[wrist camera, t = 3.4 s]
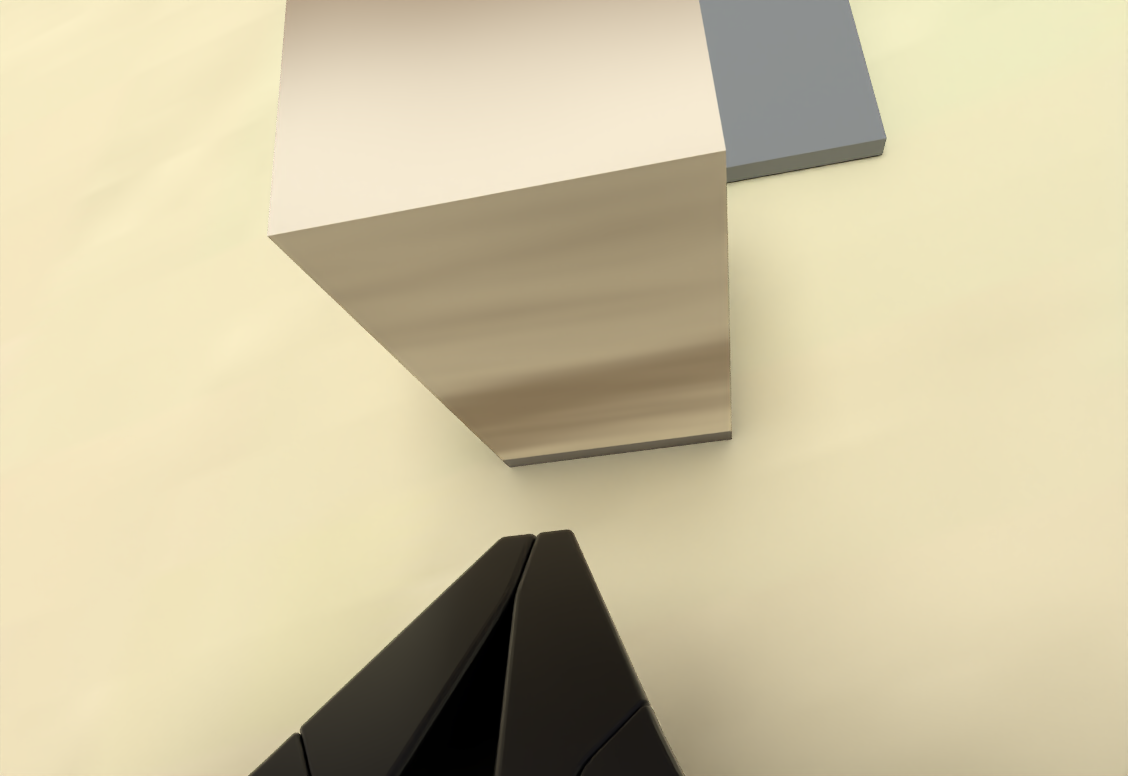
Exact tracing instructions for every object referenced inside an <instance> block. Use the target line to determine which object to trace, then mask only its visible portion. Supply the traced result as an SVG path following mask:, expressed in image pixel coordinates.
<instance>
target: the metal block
mask: <svg viewBox="0 0 1128 776" xmlns="http://www.w3.org/2000/svg"><path fill="white" fill-rule="evenodd" d="M267 236H268V237H269V238H270V239H271V240H272V241H273V242H274V243H275V244H276V245H277V246H278V247H279V248H280V249H281V250H282V251H283V252H285V253H286V254H287V255H288V256H289V257H290V258H291V259H292V260H293V261H294V262H295V263H296V264H297V265H298V266H299V267H300V268H301V269H302V270H303V271H304V272H305V273H307V274H308V275H309V276H310V277H311V278H312V279H313V280H314V281H315V282H316V283H317V284H318V285H319V286H320V287H321V288H322V289H323V290H324V291H325V292H326V293H327V294H329V295H330V296H331V297H332V298H333V299H334V300H335V301H336V302H337V303H338V304H339V305H340V306H341V307H342V308H343V309H344V310H345V311H346V312H347V313H348V314H350V315H351V316H352V317H353V318H354V319H355V320H356V321H357V322H358V323H359V324H360V325H361V326H362V327H363V328H364V329H365V330H366V331H367V332H368V333H369V334H370V335H372V336H373V337H374V338H375V339H376V340H377V341H378V342H379V343H380V344H381V345H382V346H383V347H384V348H385V349H386V350H387V351H388V352H389V353H390V354H391V355H392V356H394V357H395V358H396V359H397V360H398V361H399V362H400V363H401V364H402V365H403V366H404V367H405V368H406V369H407V370H408V371H409V372H410V373H411V374H412V375H413V376H415V377H416V378H417V379H418V380H419V381H420V382H421V383H422V384H423V385H424V386H425V387H426V388H427V389H428V390H429V391H430V392H431V393H432V394H433V395H434V396H435V397H437V398H438V399H439V400H440V401H441V402H442V403H443V404H444V405H445V406H446V407H447V408H448V409H449V410H450V411H451V412H452V413H453V414H454V415H455V416H456V417H457V418H459V419H460V420H461V421H462V422H463V423H464V424H465V425H466V426H467V427H468V428H469V429H470V430H471V431H472V432H473V433H474V434H475V435H476V436H477V437H478V438H480V439H481V440H482V441H483V442H484V443H485V444H486V445H487V446H488V447H489V448H490V449H491V450H492V451H493V452H494V453H495V454H496V455H497V456H498V457H499V458H500V459H502V460H503V461H504V462H505V463H506V464H507V465H508V466H509V467H515V466H523V465H531V464H539V463H547V462H555V461H563V460H571V459H579V458H586V457H594V456H602V455H610V454H618V453H626V452H634V451H642V450H650V449H657V448H665V447H673V446H681V445H689V444H697V443H705V442H713V441H721V440H728V439H732V429H731V379H730V328H729V278H728V227H727V176H726V148H725V142H724V136H723V131H722V125H721V120H720V114H719V109H718V103H717V98H716V92H715V87H714V81H713V75H712V70H711V64H710V59H709V53H708V48H707V42H706V37H705V31H704V26H703V20H702V14H701V9H700V3H699V0H287V2H286V14H285V26H284V38H283V50H282V63H281V75H280V87H279V99H278V111H277V124H276V136H275V148H274V160H273V172H272V185H271V197H270V209H269V221H268V233H267Z"/></svg>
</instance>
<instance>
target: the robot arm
mask: <svg viewBox="0 0 1128 776" xmlns="http://www.w3.org/2000/svg"><path fill="white" fill-rule="evenodd" d="M300 733H301V735H300V734H299V733H294V734H293V735H292V736H290V737H289V738H288V739H287V740H286V741H285V742H284V743H283V744H282V745H281V746H280V747H279V748H278V749H277V750H276V751H275V752H274V753H272V754H271V755H270V756H269V757H268V758H267V759H266V760H265V761H264V762H263V763H262V764H261V765H259V766H258V767H257V768H256V769H255V770H254V771H253V772H252V773H251V774H250V775H248V776H685V775H684V774H683V772H682V770H681V768H680V766H679V764H678V762H677V760H676V758H675V756H674V754H673V752H672V750H671V748H670V746H669V744H668V742H667V740H666V738H665V736H664V734H663V731H662V729H661V727H660V725H659V722H658V720H657V718H656V716H655V713H654V711H653V709H652V708H651V707H650V704H649V701H648V699H647V696H646V694H645V692H644V690H643V687H642V685H641V683H640V681H639V678H638V676H637V674H636V672H635V670H634V667H633V665H632V663H631V661H630V658H629V656H628V654H627V652H626V649H625V647H624V645H623V643H622V640H621V638H620V636H619V634H618V631H617V629H616V627H615V625H614V622H613V620H612V618H611V616H610V614H609V611H608V609H607V607H606V605H605V602H604V600H603V598H602V596H601V593H600V591H599V589H598V587H597V584H596V582H595V580H594V578H593V575H592V573H591V571H590V569H589V566H588V564H587V562H586V560H585V558H584V555H583V553H582V551H581V549H580V546H579V544H578V542H577V540H576V537H575V535H574V533H573V532H572V531H571V530H559V531H551V532H543V533H540V534H539V535H537V537H536V536H535V535H533V534H526V535H517V536H508V537H503V538H501V539H500V540H498V541H497V542H496V543H495V544H494V545H493V546H492V547H491V548H490V549H489V550H488V551H486V552H485V553H484V554H483V555H482V556H481V557H480V558H479V559H478V560H477V561H476V562H475V563H474V564H473V565H472V566H471V567H470V568H468V569H467V570H466V571H465V572H464V573H463V574H462V575H461V576H460V577H459V578H458V579H457V580H456V581H455V582H454V583H453V584H452V585H450V586H449V587H448V588H447V589H446V590H445V591H444V592H443V593H442V594H441V595H440V596H439V597H438V598H437V599H436V600H435V601H434V602H433V603H431V604H430V605H429V606H428V607H427V608H426V609H425V610H424V611H423V612H422V613H421V614H420V615H419V616H418V617H417V618H416V619H415V620H413V621H412V622H411V623H410V624H409V625H408V626H407V627H406V628H405V629H404V630H403V631H402V632H401V633H400V634H399V635H398V636H397V637H395V638H394V639H393V640H392V641H391V642H390V643H389V644H388V645H387V646H386V647H385V648H384V649H383V650H382V651H381V652H380V653H379V654H378V655H376V656H375V657H374V658H373V659H372V660H371V661H370V662H369V663H368V664H367V665H366V666H365V667H364V668H363V669H362V670H361V671H360V672H358V673H357V674H356V675H355V676H354V677H353V678H352V679H351V680H350V681H349V682H348V683H347V684H346V685H345V686H344V687H343V688H342V689H340V690H339V691H338V692H337V693H336V694H335V695H334V696H333V697H332V698H331V699H330V700H329V701H328V702H327V703H326V704H325V705H324V706H322V707H321V708H320V709H319V710H318V711H317V712H316V713H315V714H314V715H313V716H312V717H311V718H310V719H309V720H308V721H307V722H306V723H304V724H303V725H302V726H301V728H300Z"/></svg>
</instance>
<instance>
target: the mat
mask: <svg viewBox="0 0 1128 776" xmlns="http://www.w3.org/2000/svg"><path fill="white" fill-rule="evenodd" d="M699 3H700V9H701V14H702V20H703V26H704V31H705V37H706V42H707V48H708V53H709V59H710V64H711V70H712V75H713V81H714V87H715V92H716V98H717V103H718V109H719V114H720V120H721V125H722V131H723V136H724V142H725V148H726V176H727V182H733V181H738V180H744V179H749V178H755V177H760V176H766V175H771V174H777V173H783V172H788V171H794V170H799V169H805V168H810V167H816V166H821V165H827V164H832V163H838V162H843V161H849V160H854V159H860V158H866V157H871V156H877V155H882V153H883V149H884V146H885V142H886V135H885V131H884V127H883V124H882V120H881V116H880V113H879V109H878V106H877V102H876V98H875V95H874V91H873V87H872V84H871V80H870V77H869V73H868V69H867V66H866V62H865V58H864V55H863V51H862V47H861V44H860V40H859V37H858V33H857V29H856V26H855V22H854V18H853V15H852V11H851V8H850V4H849V0H699Z"/></svg>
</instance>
